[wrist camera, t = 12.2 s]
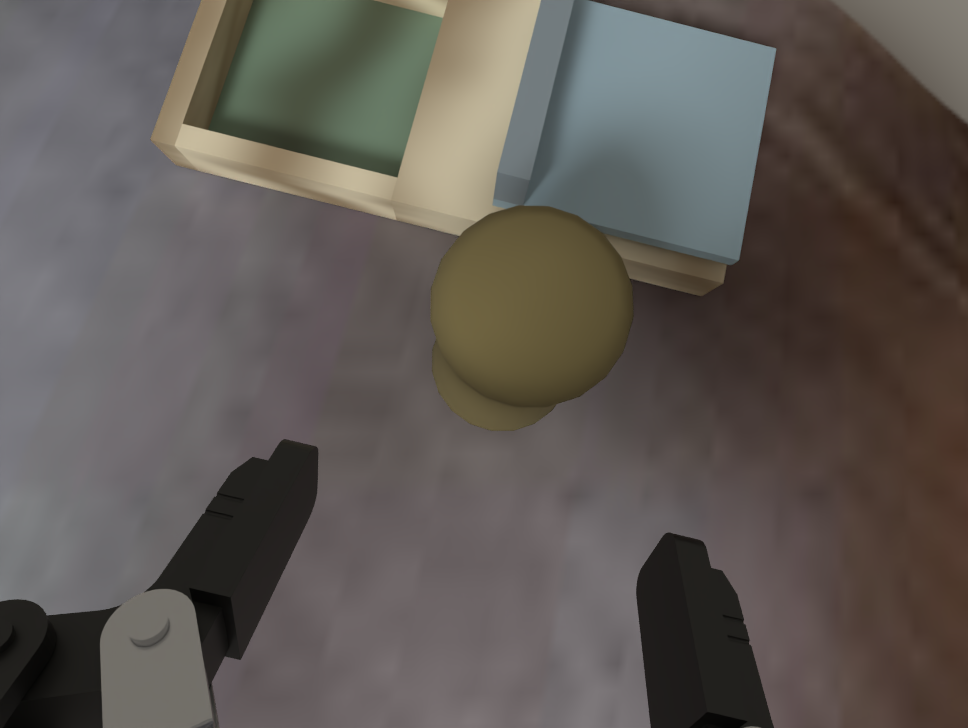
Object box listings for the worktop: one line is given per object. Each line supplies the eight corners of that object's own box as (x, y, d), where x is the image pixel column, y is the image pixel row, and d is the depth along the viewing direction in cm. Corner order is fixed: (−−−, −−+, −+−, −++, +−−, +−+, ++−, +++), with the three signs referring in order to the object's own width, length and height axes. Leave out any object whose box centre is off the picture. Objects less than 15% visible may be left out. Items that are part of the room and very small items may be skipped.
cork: (444, 282, 23) (432, 145, 13) (579, 305, 24) (683, 188, 13) (420, 419, 23) (384, 398, 12) (561, 442, 23) (656, 442, 12)
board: (741, 79, 26) (765, 49, 24) (701, 296, 24) (723, 283, 22) (251, -46, 25) (233, -88, 23) (176, 164, 24) (150, 139, 22)
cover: (768, 58, 23) (808, 8, 20) (731, 265, 22) (769, 240, 19) (544, 1, 23) (555, -57, 20) (492, 205, 22) (497, 172, 19)
